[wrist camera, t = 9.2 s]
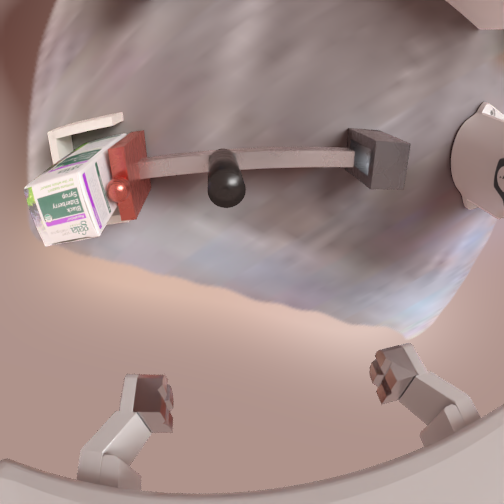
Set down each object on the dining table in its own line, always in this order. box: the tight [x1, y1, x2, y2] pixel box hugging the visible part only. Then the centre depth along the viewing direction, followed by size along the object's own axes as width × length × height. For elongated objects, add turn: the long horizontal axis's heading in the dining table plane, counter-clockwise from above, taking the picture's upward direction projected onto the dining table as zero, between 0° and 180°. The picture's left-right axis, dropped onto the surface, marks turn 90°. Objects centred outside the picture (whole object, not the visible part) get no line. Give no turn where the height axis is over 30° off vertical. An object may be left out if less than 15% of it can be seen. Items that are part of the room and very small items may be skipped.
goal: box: [47, 112, 130, 225], centre depth 30 cm, size 8×12×4 cm, turn 1°
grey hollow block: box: [345, 128, 410, 189], centre depth 32 cm, size 4×5×7 cm
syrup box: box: [24, 133, 127, 247], centre depth 25 cm, size 6×6×14 cm
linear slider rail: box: [106, 130, 355, 221], centre depth 27 cm, size 24×7×12 cm, turn 91°
